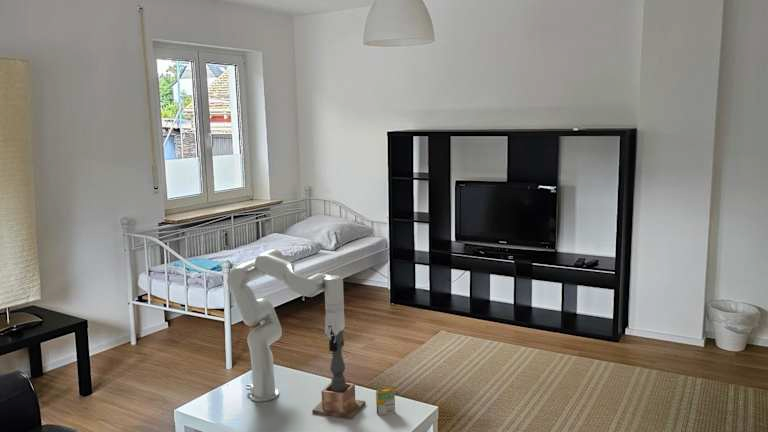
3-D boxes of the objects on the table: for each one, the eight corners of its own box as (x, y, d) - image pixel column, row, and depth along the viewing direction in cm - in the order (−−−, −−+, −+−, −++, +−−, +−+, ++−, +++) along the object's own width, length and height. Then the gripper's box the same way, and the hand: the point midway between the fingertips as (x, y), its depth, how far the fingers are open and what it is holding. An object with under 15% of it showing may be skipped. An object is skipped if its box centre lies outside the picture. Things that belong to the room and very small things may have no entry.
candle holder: (343, 392, 260) (341, 334, 256) (329, 391, 261) (326, 334, 257) (347, 386, 266) (345, 329, 262) (333, 385, 267) (330, 328, 263)
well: (312, 413, 262) (311, 391, 260) (327, 398, 275) (326, 378, 273) (352, 419, 255) (351, 397, 254) (365, 404, 268) (364, 383, 267)
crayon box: (393, 410, 263) (392, 383, 261) (395, 413, 260) (394, 386, 258) (376, 412, 261) (375, 386, 259) (378, 416, 258) (377, 389, 256)
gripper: (335, 299, 267) (337, 340, 270) (316, 311, 251) (319, 355, 254) (351, 300, 264) (353, 342, 267) (334, 313, 248) (336, 357, 251)
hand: (336, 348), depth 261 cm, fingers closed on candle holder, 5 cm apart
